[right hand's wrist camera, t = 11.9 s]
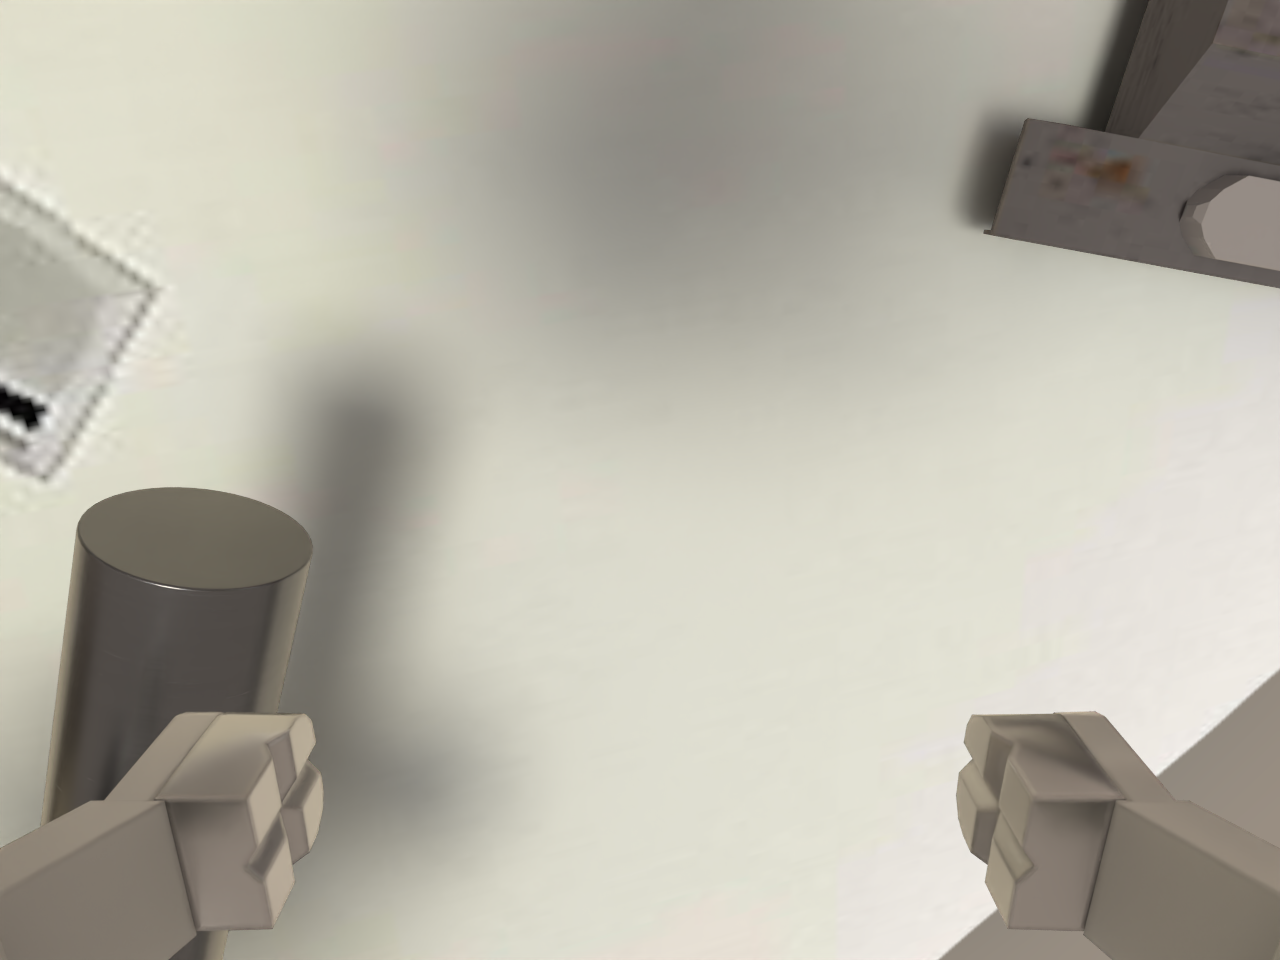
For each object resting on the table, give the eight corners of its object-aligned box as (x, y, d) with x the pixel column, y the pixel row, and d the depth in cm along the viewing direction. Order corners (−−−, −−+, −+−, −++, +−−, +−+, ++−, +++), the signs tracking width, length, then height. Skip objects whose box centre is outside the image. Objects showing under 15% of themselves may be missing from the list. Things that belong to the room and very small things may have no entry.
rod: (151, 468, 27) (23, 546, 22) (340, 523, 28) (264, 613, 22) (68, 1024, 35) (-42, 1189, 30) (217, 1057, 36) (138, 1224, 30)
